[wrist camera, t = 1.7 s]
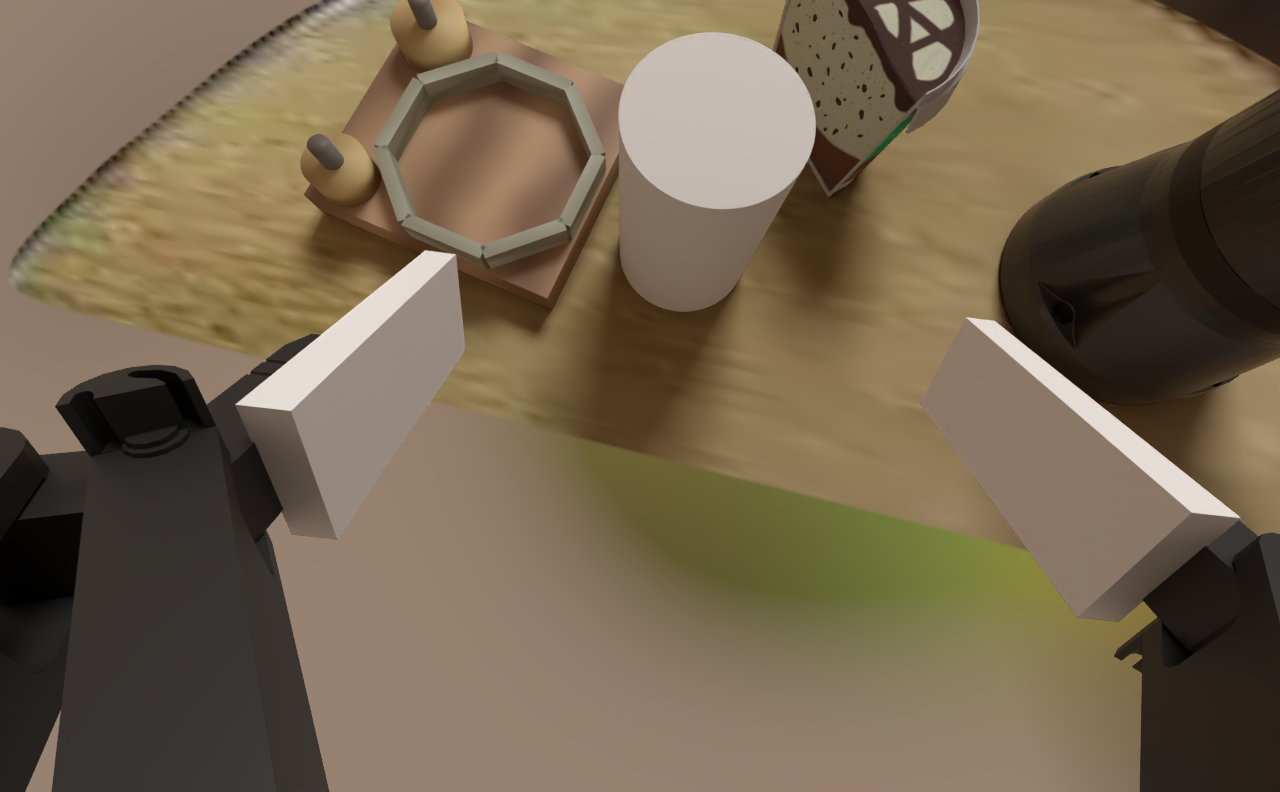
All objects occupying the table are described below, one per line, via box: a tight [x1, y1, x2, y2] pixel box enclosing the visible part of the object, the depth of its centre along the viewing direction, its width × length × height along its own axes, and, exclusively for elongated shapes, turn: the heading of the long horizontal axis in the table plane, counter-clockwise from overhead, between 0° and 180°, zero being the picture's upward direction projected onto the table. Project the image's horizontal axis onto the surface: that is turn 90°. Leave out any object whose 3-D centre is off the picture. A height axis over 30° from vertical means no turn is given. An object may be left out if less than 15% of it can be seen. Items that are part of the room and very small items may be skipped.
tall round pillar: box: [618, 32, 816, 312], centre depth 26 cm, size 8×8×12 cm
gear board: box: [300, 0, 625, 310], centre depth 30 cm, size 16×15×5 cm
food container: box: [773, 0, 980, 198], centre depth 29 cm, size 12×6×10 cm, turn 26°
